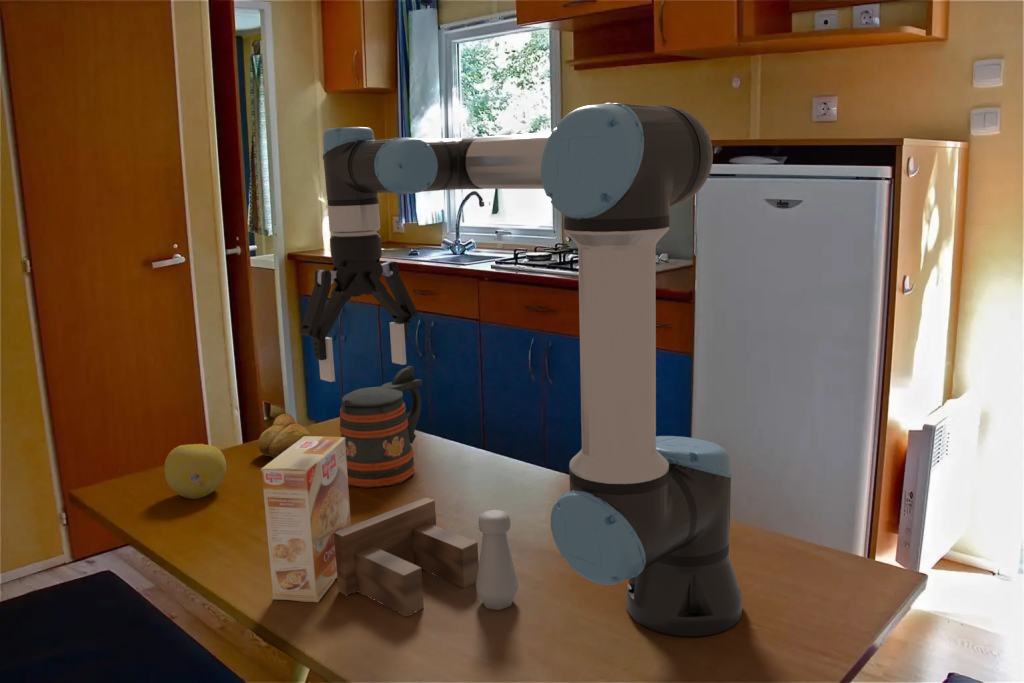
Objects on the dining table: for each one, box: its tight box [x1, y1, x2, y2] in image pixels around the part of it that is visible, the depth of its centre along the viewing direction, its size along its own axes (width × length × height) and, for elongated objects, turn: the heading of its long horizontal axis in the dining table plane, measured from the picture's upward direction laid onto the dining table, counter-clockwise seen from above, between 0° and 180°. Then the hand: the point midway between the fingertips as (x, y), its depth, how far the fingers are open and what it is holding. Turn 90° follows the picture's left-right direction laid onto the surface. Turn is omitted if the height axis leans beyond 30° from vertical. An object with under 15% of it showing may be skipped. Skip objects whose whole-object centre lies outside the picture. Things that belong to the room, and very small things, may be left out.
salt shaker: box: [475, 509, 519, 611], centre depth 120 cm, size 6×6×13 cm
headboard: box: [334, 496, 479, 617], centre depth 126 cm, size 13×17×9 cm
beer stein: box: [339, 365, 423, 489], centre depth 172 cm, size 19×15×20 cm
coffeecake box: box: [260, 435, 352, 603], centre depth 129 cm, size 15×7×20 cm, turn 170°
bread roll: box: [257, 412, 311, 459], centre depth 185 cm, size 13×10×8 cm
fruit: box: [163, 443, 227, 500], centre depth 164 cm, size 10×11×10 cm
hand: (364, 371), depth 137 cm, fingers open, 13 cm apart
